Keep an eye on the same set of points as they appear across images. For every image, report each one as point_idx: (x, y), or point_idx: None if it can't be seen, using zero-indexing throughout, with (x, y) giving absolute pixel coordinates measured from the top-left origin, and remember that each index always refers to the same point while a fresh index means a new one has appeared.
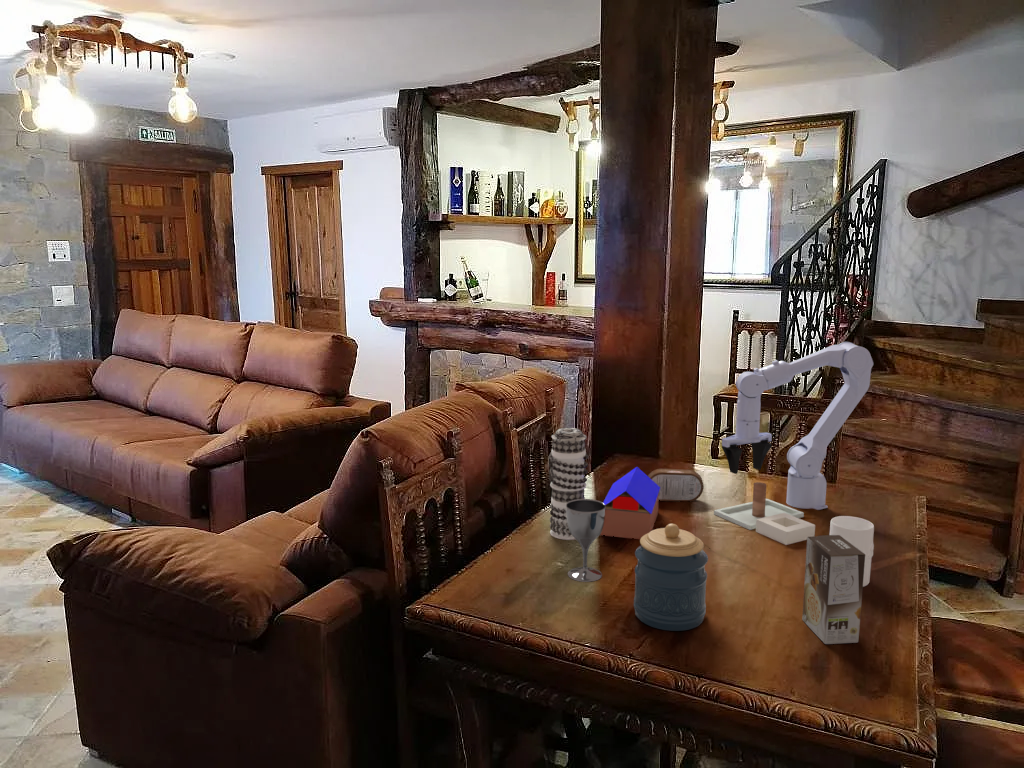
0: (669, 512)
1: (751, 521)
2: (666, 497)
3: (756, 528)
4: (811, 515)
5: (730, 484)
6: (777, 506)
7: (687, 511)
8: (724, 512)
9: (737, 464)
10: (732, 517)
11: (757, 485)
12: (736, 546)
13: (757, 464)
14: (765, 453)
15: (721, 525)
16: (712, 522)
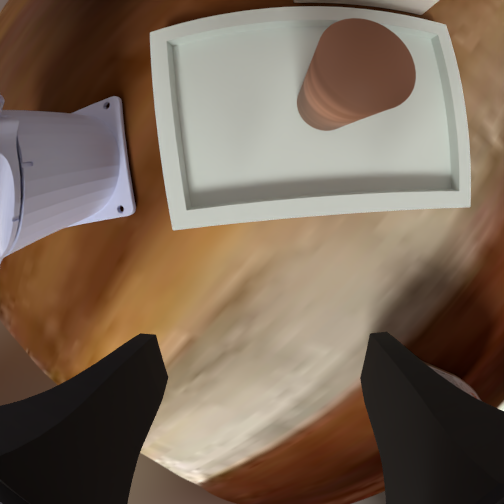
0: (499, 296)
1: None
2: (447, 377)
3: (431, 4)
4: (102, 84)
5: (181, 411)
6: (180, 146)
7: (468, 286)
8: (433, 189)
9: (417, 373)
10: (461, 109)
11: (407, 51)
12: (491, 16)
13: (144, 373)
14: (45, 402)
15: (469, 133)
16: (476, 170)
